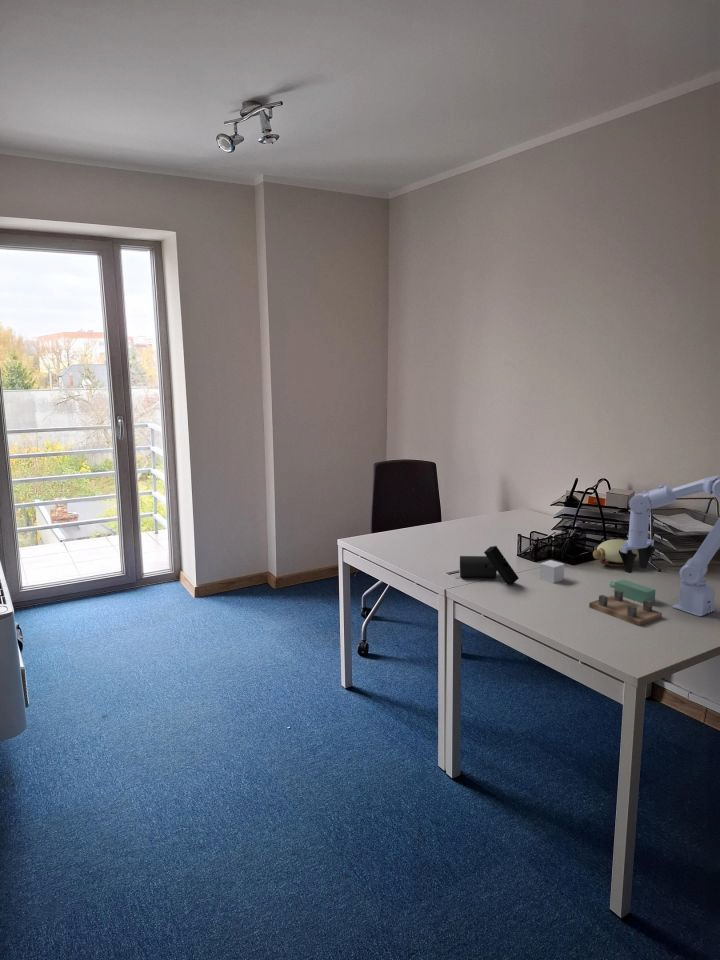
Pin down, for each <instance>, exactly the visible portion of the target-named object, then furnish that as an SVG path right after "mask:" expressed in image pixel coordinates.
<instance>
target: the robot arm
mask: <svg viewBox="0 0 720 960" xmlns="http://www.w3.org/2000/svg"><path fill="white" fill-rule="evenodd" d="M698 493H703V494H707V495H709V496H711V495H712V494H714V496H715V497H716V498H717V500H718V501H720V475H713V476H710V477H705V478H702V479H698V480H695V481H692V482H689V483H686V484H682V485H680V486H676V487H671V486H669V485H665V486H664V485H663V484H661V485H659V486H657V488H654V489H651V490H647V489H646V490H643V492H640V493H639V492H638V493H637V494H636V495H633V496H632V497H630V499H629V501H628V507H629V509H630V515H629V528H628V536H627V537H628V539H626V541H625V543H626V544H624V545H623V546H621V549H620V550H619V554H620V556H621V558H622V561H623V562H622V564H623V565H624V566H623V570H624V572H625V573H627V574H632V573H633V568H634V563H635V560H636V559H635V558H636V556H637V554H634V553H633V552H632V550H636V549H638V553H639V557H638V567H639V568H641V569H644V570H646V569H647V568H648V565H649V562H650V559H651V558H652V555H653V554H654V552H655V551H656V548H655V546H654V545H655V543H654V542H655V540H654V539H651V538H649V525H650V509H653V510H654V509H657V508H660V507H661V508H662V507H665V506H669V505H672V504H674V503H675V501H676V499H678V498H682V497H686V496H690V495H694V494H698ZM719 549H720V517H719V518H718V519H717V521H716V522H715V524H714V525H713V526H712V529H711V530H710V531H709V532H708V534H707V536H706V537H705V539H704V540H703V542H702V543H701V545H700V546H699V548H698V549H697V551H696V552H695V554H694V555H693V556H692V557H691V558H688V560H687V561H686V562H685V564H684V565H683V566H681V567H680V569H679V590H678V603H676V604H673V605H672V606H671V607H672V608H673V609H676V610H679V611H683V612H686V613H688V614H692V615H695V616H698V617H702V616H705V614H706V615H707V613H708V614H711V613H713V612H715V610H716V609H714V607H715V606H714V605H715V597H716V596H715V595H716V592H715V588H714V587H712V586H710V585H708V583H707V580H706V578H705V577H704V576H705V575H706V574H707V572H708V568H709V567H708V566H709V563H710V562H711V560H712V559H713V557H714V556H715V555H716V553H717V552H718V550H719ZM712 611H713V612H712ZM710 612H711V613H710Z"/></svg>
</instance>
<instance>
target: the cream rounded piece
mask: <svg viewBox="0 0 720 960" xmlns="http://www.w3.org/2000/svg"><path fill="white" fill-rule="evenodd" d="M626 540H627V539H626ZM626 540H625V539H619V538H618V539H616V538H615V539H609V540H608V539H607V540H605V541H603V542H601V543H600V544H598V545H597V549H595V550H593V552H592V556H593V558H594V559H595V560H599V562H600V564H602V565H608V566H610V567H624V565H623V561H622V558H621V556H620V554H619V550H620V549H621V546H623V545H624V544H626V543H625V541H626ZM632 552H633V553H634V554H637V556H636V558H635V560H637V559H639V553H638V549H636V550H632ZM611 562H612V563H616V564H612V563H611ZM617 563H622V564H617Z"/></svg>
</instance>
